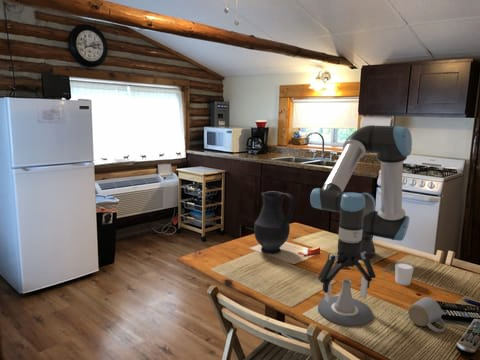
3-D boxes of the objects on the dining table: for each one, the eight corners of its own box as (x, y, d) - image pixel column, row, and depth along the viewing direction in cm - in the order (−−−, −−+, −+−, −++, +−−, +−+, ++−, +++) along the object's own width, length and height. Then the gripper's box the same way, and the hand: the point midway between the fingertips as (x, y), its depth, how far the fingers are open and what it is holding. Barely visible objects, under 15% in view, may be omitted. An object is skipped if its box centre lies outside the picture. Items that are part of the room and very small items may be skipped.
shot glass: (411, 280, 155) (412, 264, 154) (412, 287, 149) (414, 270, 147) (393, 277, 157) (394, 261, 156) (394, 284, 151) (395, 268, 150)
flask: (356, 315, 125) (359, 287, 123) (334, 312, 126) (336, 284, 125) (354, 304, 132) (356, 277, 130) (333, 302, 133) (335, 275, 132)
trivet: (354, 296, 140) (354, 293, 140) (383, 322, 123) (383, 319, 123) (309, 301, 136) (309, 298, 136) (332, 329, 119) (333, 325, 119)
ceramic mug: (405, 320, 124) (407, 299, 123) (418, 313, 129) (421, 293, 128) (436, 337, 116) (440, 314, 114) (450, 329, 121) (453, 307, 119)
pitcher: (268, 241, 197) (271, 185, 191) (301, 252, 183) (305, 192, 177) (246, 250, 184) (247, 190, 179) (279, 262, 170) (282, 198, 165)
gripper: (320, 245, 118) (316, 308, 122) (389, 241, 124) (384, 300, 128) (310, 238, 125) (307, 296, 129) (376, 233, 131) (371, 290, 135)
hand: (345, 298), depth 129 cm, fingers open, 13 cm apart
